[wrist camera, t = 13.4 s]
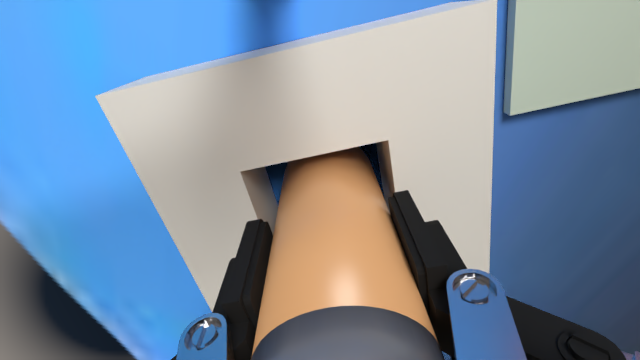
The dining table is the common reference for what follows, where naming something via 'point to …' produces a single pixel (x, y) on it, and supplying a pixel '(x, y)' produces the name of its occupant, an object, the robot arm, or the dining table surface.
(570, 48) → the pad
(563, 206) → the dining table surface
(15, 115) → the dining table surface
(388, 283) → the plug
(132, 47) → the dining table surface
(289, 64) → the socket block
